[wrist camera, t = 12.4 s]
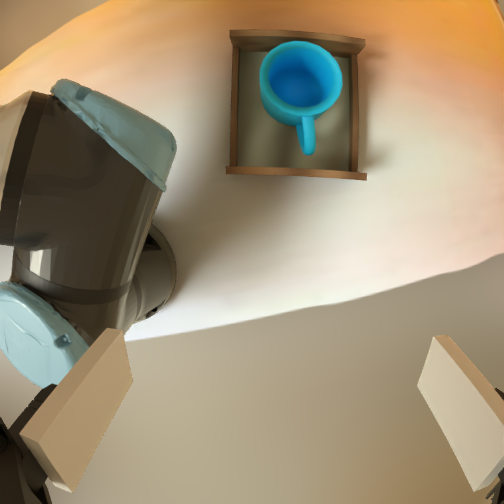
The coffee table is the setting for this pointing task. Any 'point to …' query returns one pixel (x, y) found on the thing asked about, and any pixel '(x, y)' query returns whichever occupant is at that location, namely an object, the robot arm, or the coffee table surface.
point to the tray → (284, 136)
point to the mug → (299, 87)
